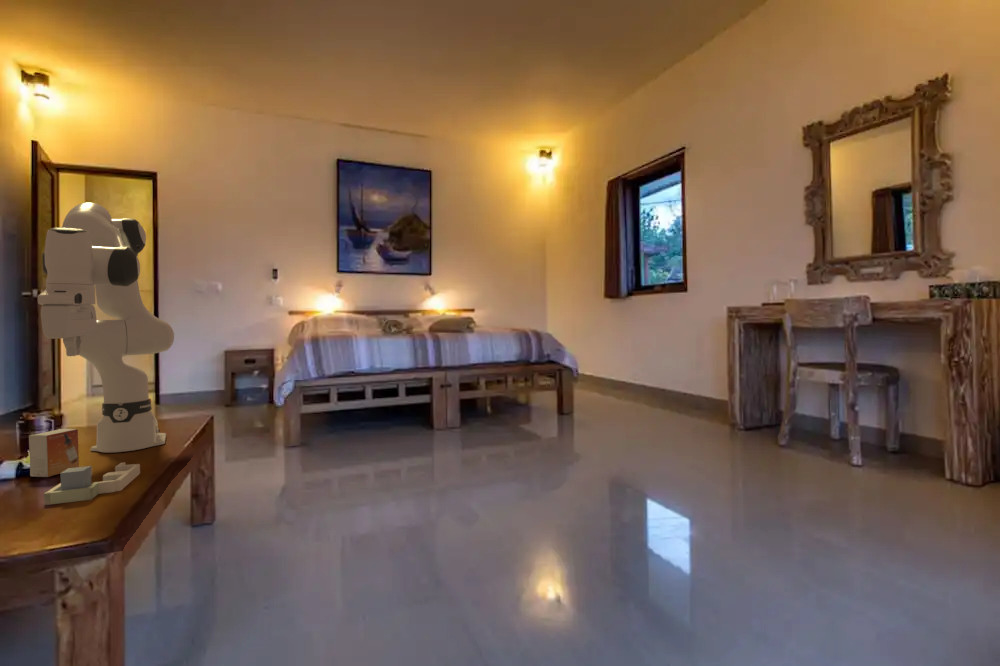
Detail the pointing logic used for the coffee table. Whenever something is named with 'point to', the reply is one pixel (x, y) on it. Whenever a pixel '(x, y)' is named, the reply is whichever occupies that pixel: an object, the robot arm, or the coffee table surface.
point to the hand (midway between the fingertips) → (73, 355)
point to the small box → (53, 452)
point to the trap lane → (95, 486)
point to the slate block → (76, 478)
